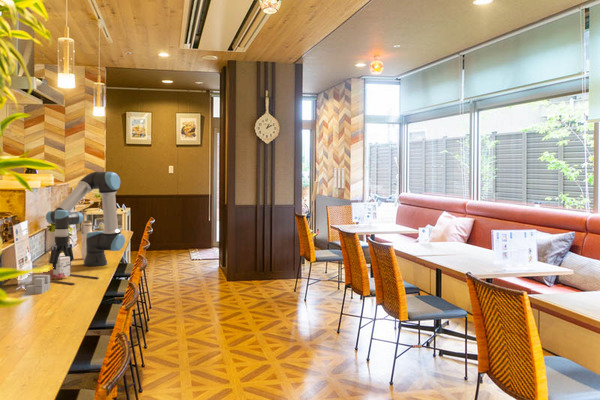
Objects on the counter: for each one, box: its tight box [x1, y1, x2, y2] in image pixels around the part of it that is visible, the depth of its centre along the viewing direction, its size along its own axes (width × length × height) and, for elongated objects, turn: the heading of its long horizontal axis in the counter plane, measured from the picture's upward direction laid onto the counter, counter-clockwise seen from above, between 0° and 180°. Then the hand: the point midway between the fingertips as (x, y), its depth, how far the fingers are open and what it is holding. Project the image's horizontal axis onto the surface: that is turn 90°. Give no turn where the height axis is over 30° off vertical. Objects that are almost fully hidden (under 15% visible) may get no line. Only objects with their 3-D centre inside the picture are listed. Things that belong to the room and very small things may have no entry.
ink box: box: [54, 255, 71, 279], centre depth 317 cm, size 9×5×12 cm, turn 162°
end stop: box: [39, 269, 57, 280], centre depth 319 cm, size 20×2×6 cm, turn 158°
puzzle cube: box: [24, 274, 51, 295], centre depth 284 cm, size 12×12×8 cm
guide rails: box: [50, 273, 100, 286], centre depth 315 cm, size 20×25×1 cm
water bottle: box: [80, 220, 94, 261], centre depth 388 cm, size 10×9×28 cm
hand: (61, 273), depth 317 cm, fingers closed on ink box, 9 cm apart
